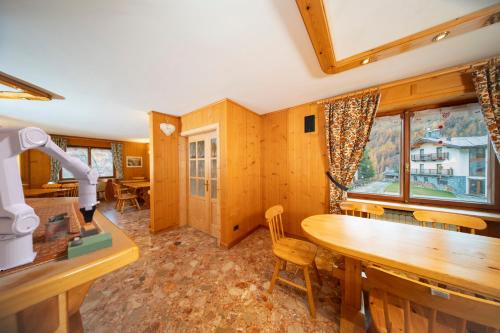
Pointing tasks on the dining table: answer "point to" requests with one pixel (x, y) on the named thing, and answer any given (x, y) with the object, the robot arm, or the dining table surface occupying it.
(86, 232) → the grey box orange face
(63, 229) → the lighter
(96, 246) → the deck
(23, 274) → the dining table surface
